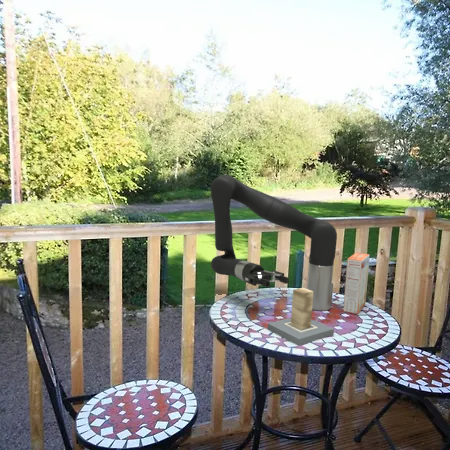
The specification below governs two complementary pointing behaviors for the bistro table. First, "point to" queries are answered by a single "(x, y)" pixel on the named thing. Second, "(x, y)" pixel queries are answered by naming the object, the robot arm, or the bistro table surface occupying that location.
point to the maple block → (302, 308)
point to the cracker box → (356, 283)
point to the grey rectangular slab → (300, 331)
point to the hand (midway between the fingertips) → (278, 282)
